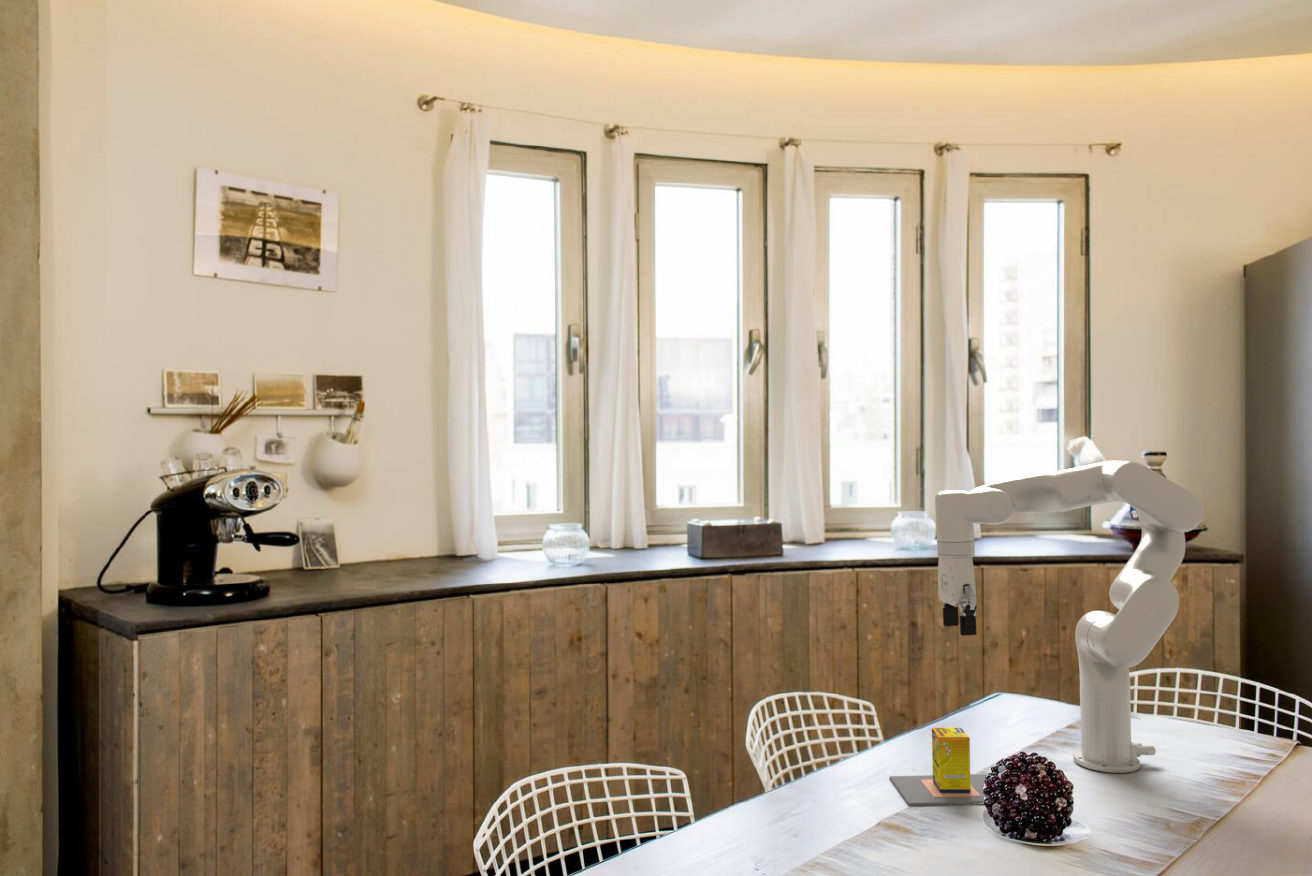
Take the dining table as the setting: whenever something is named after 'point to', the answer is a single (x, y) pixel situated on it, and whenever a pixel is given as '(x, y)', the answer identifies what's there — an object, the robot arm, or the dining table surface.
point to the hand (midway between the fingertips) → (959, 630)
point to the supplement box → (951, 760)
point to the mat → (936, 791)
